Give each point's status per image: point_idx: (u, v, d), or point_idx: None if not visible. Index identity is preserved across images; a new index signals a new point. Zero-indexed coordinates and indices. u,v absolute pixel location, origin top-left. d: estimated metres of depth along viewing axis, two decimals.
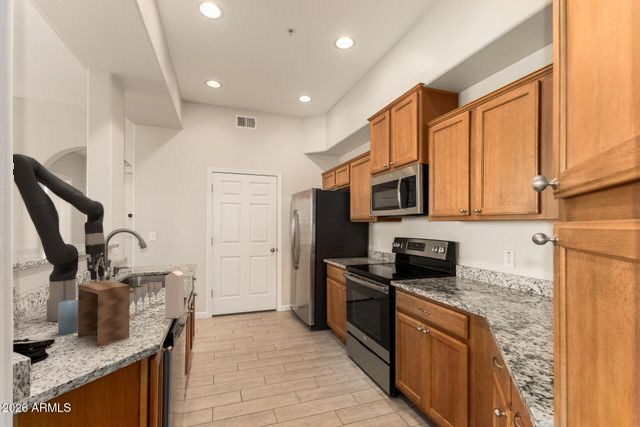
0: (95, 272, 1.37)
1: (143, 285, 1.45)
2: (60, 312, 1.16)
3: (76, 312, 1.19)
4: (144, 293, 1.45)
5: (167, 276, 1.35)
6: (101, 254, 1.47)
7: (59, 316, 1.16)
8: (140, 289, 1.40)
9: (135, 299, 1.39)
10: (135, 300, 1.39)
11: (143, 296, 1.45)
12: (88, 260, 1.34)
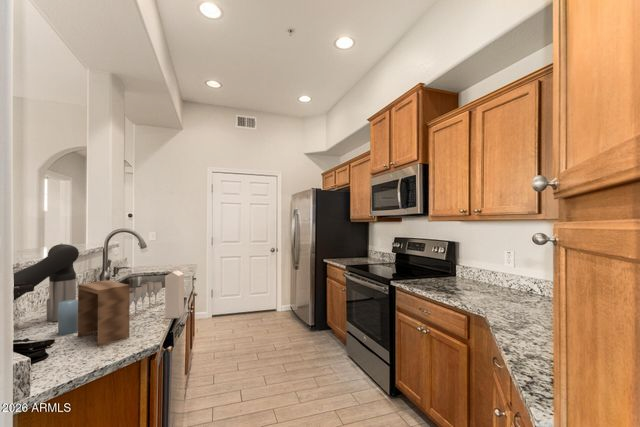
0: (21, 287, 1.05)
1: (143, 285, 1.45)
2: (60, 312, 1.16)
3: (76, 312, 1.19)
4: (144, 293, 1.45)
5: (167, 276, 1.35)
6: None
7: (59, 316, 1.16)
8: (140, 289, 1.40)
9: (135, 299, 1.39)
10: (135, 300, 1.39)
11: (143, 296, 1.45)
12: None
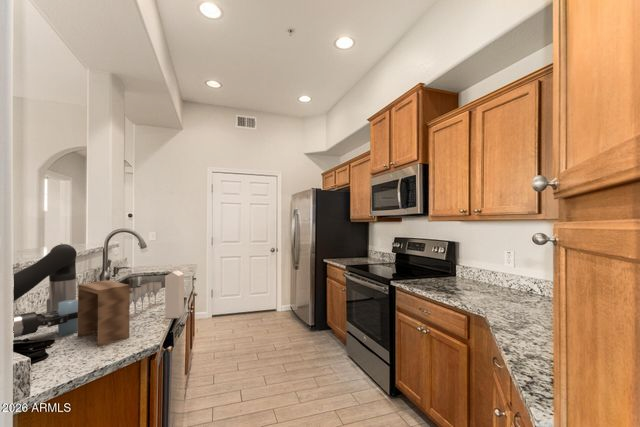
0: (69, 314, 1.16)
1: (142, 285, 1.44)
2: (60, 312, 1.16)
3: None
4: (143, 293, 1.45)
5: (167, 276, 1.35)
6: None
7: None
8: (139, 289, 1.39)
9: (134, 299, 1.39)
10: (134, 300, 1.39)
11: (142, 296, 1.45)
12: (53, 324, 1.10)
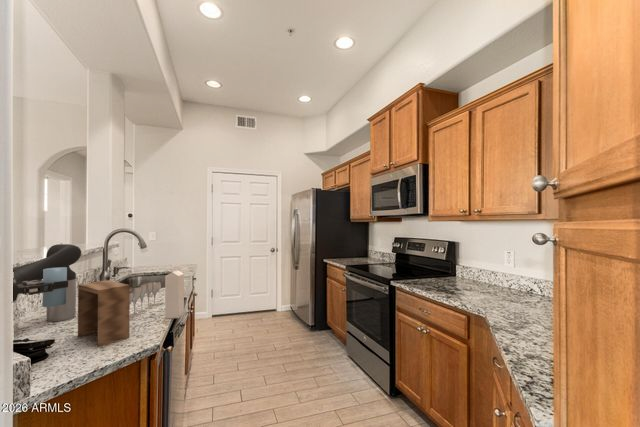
0: (56, 282, 0.99)
1: (142, 285, 1.44)
2: (45, 280, 0.99)
3: None
4: (143, 293, 1.44)
5: (167, 276, 1.35)
6: None
7: None
8: (139, 289, 1.39)
9: (134, 300, 1.38)
10: (134, 301, 1.38)
11: (142, 297, 1.45)
12: (35, 291, 0.93)
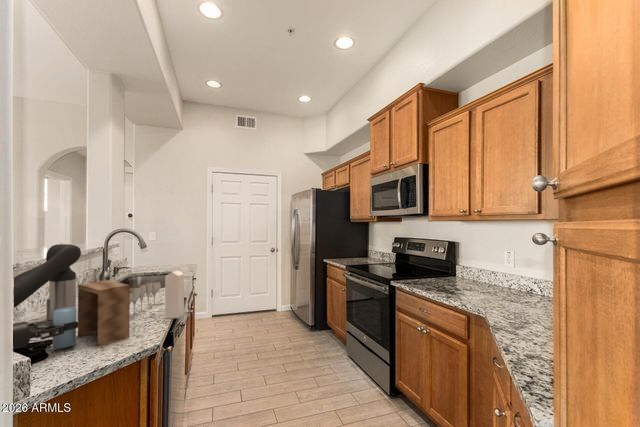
0: (66, 324, 1.01)
1: (141, 286, 1.44)
2: (55, 322, 1.01)
3: None
4: (142, 294, 1.44)
5: (167, 276, 1.35)
6: None
7: None
8: (138, 290, 1.39)
9: (133, 300, 1.38)
10: (133, 301, 1.38)
11: (141, 297, 1.44)
12: (47, 336, 0.95)
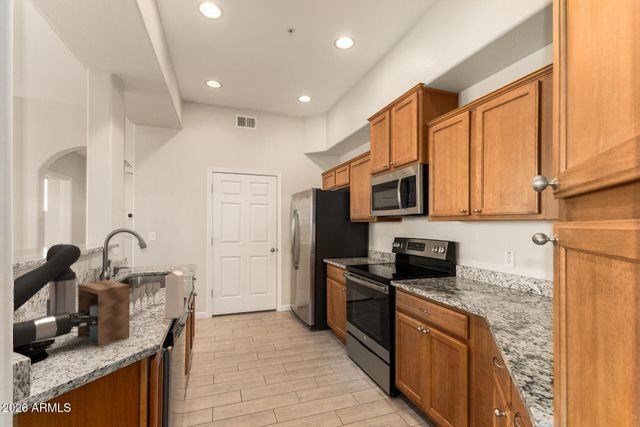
0: None
1: (141, 286, 1.44)
2: None
3: None
4: (142, 294, 1.44)
5: (167, 276, 1.35)
6: None
7: None
8: (138, 290, 1.39)
9: (133, 300, 1.38)
10: (133, 301, 1.38)
11: (141, 297, 1.44)
12: (85, 325, 1.03)
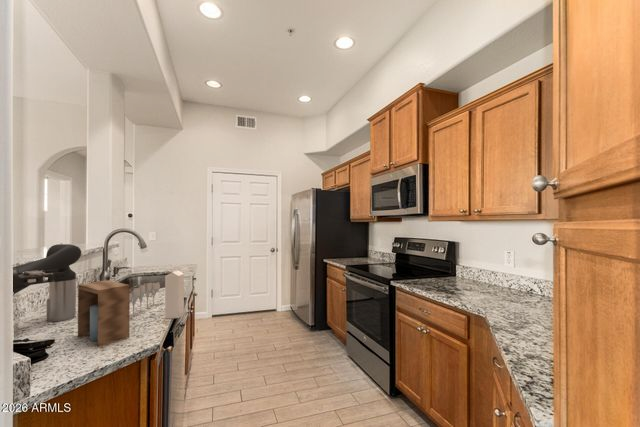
0: (55, 273, 0.99)
1: (141, 286, 1.43)
2: (92, 316, 1.10)
3: None
4: (142, 294, 1.44)
5: (167, 276, 1.35)
6: None
7: (91, 321, 1.10)
8: (138, 290, 1.38)
9: (133, 300, 1.37)
10: (133, 301, 1.38)
11: (141, 297, 1.44)
12: (33, 282, 0.92)
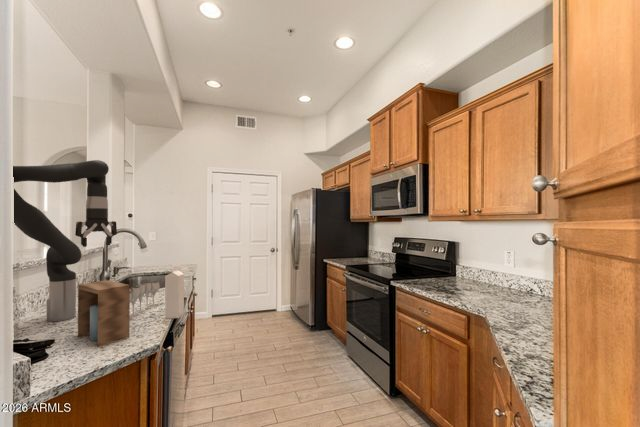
0: None
1: (140, 286, 1.43)
2: (92, 316, 1.10)
3: None
4: (141, 294, 1.43)
5: (167, 276, 1.35)
6: None
7: (91, 321, 1.10)
8: (137, 290, 1.38)
9: (132, 300, 1.37)
10: (132, 301, 1.37)
11: (140, 297, 1.44)
12: None
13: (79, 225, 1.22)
